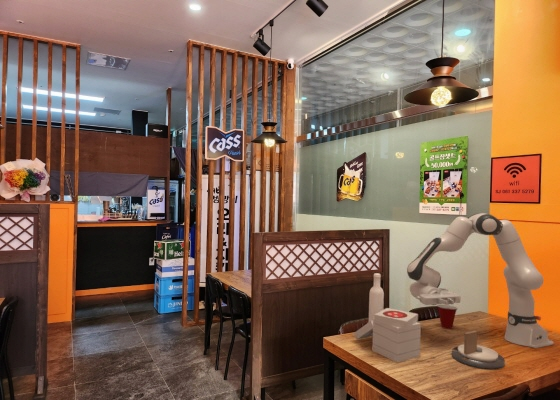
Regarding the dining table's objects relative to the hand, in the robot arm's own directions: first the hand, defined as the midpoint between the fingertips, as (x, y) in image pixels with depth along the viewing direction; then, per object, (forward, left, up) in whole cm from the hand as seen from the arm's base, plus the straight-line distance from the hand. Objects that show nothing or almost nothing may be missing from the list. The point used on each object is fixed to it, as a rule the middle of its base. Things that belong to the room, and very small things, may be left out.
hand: (450, 302), depth 183 cm
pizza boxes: (+31, -4, -22) cm, 38 cm away
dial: (-5, +13, -20) cm, 24 cm away
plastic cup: (-21, -29, -22) cm, 42 cm away
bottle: (+21, -33, -22) cm, 45 cm away
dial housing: (-5, +13, -22) cm, 26 cm away
